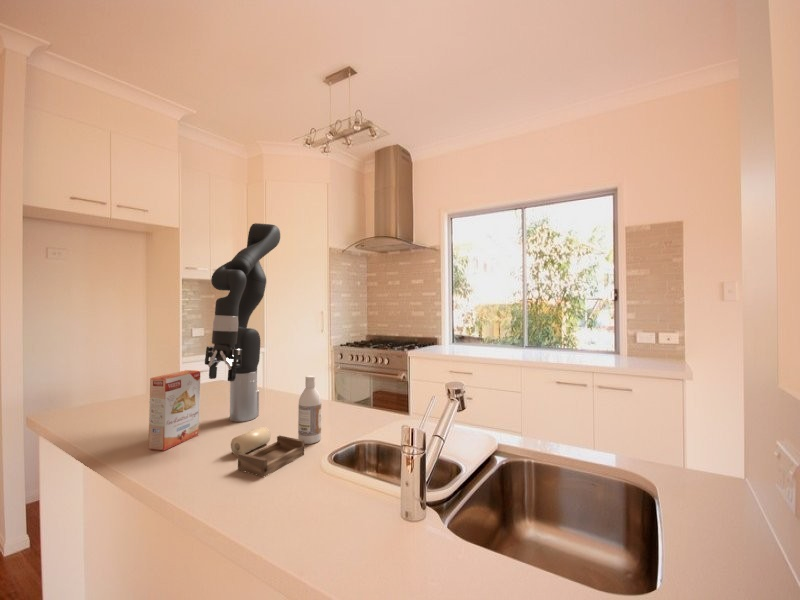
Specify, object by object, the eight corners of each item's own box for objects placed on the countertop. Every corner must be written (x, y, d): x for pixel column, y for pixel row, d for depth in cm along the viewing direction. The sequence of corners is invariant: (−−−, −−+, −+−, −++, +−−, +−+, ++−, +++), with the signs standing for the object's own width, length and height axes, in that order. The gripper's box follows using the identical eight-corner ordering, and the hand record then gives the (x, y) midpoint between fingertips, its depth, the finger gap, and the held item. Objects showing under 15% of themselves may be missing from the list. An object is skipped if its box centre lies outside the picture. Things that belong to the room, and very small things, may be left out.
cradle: (279, 449, 109) (279, 435, 109) (304, 454, 105) (304, 440, 105) (237, 469, 96) (237, 454, 96) (264, 477, 92) (264, 460, 92)
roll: (257, 442, 115) (257, 425, 115) (270, 445, 113) (270, 427, 113) (230, 454, 106) (230, 435, 106) (243, 457, 103) (244, 438, 104)
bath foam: (318, 444, 113) (319, 378, 113) (295, 444, 113) (296, 378, 113) (322, 436, 120) (323, 374, 120) (301, 436, 120) (301, 374, 120)
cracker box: (165, 451, 107) (166, 378, 107) (147, 449, 108) (148, 377, 108) (200, 434, 120) (201, 370, 121) (184, 433, 122) (185, 369, 122)
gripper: (250, 330, 122) (246, 380, 121) (220, 329, 128) (216, 376, 127) (231, 330, 116) (227, 383, 114) (200, 328, 122) (196, 379, 120)
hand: (221, 379), depth 121 cm, fingers open, 8 cm apart
